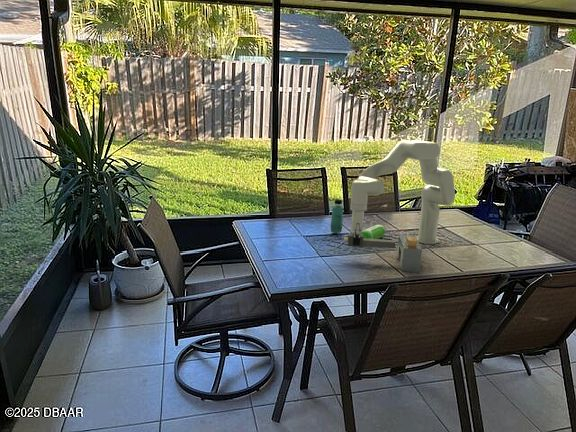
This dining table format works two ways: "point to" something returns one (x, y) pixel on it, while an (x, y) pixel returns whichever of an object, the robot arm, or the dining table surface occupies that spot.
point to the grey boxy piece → (409, 253)
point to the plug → (370, 242)
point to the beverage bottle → (337, 217)
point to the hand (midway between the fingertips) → (356, 242)
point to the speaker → (374, 232)
